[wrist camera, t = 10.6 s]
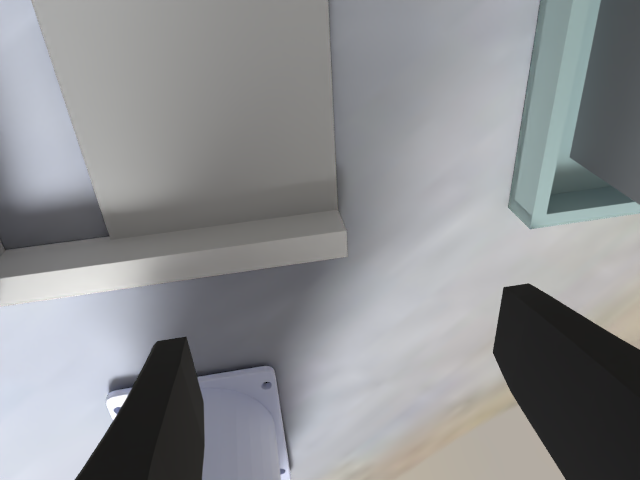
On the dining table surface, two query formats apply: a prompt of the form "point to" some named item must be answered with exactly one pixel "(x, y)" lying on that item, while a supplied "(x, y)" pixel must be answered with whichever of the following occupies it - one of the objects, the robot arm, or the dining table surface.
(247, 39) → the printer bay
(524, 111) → the tray
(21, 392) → the dining table surface
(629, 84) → the grey rectangular block
